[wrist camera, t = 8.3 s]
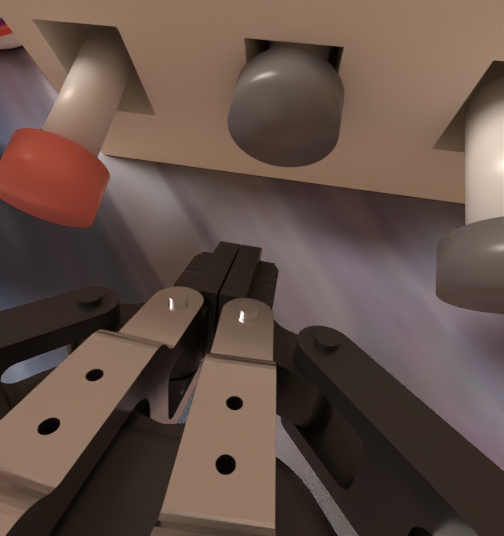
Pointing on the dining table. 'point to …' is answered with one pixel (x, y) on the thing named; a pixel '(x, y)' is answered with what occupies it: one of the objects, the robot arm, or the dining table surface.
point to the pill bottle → (7, 37)
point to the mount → (257, 40)
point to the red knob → (70, 138)
